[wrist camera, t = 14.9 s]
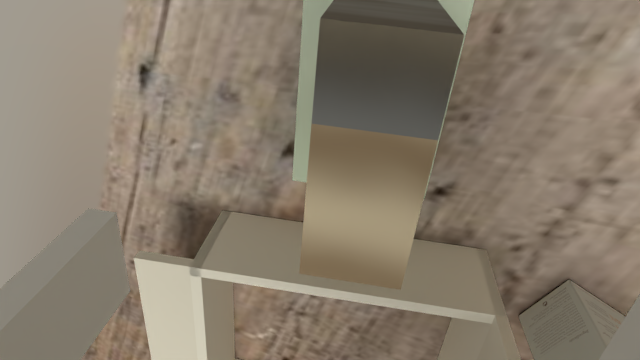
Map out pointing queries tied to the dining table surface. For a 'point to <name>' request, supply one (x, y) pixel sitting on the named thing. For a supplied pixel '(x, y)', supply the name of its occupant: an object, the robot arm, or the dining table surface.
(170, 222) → the dining table surface
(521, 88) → the dining table surface
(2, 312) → the robot arm
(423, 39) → the box
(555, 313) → the small box
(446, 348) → the carton
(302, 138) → the sage pad
